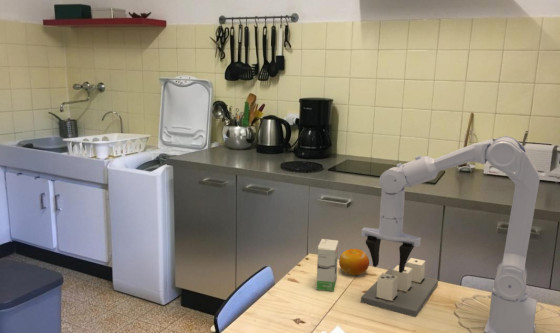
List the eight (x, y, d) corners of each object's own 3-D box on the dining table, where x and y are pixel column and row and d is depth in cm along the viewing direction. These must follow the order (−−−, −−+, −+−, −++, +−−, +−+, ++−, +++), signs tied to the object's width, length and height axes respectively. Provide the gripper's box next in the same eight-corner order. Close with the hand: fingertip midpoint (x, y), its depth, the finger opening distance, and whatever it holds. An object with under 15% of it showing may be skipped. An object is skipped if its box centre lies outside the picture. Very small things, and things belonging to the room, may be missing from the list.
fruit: (329, 260, 139) (346, 240, 137) (343, 263, 146) (359, 243, 144) (347, 281, 134) (365, 260, 132) (361, 283, 140) (378, 263, 139)
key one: (424, 277, 132) (425, 260, 131) (420, 282, 129) (421, 264, 128) (409, 274, 134) (411, 257, 133) (405, 279, 131) (406, 261, 130)
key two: (411, 286, 127) (412, 267, 126) (406, 291, 123) (407, 272, 122) (396, 282, 129) (397, 264, 128) (391, 287, 125) (392, 269, 124)
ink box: (334, 292, 126) (335, 249, 124) (315, 290, 127) (317, 248, 125) (337, 279, 134) (338, 239, 132) (319, 277, 135) (321, 238, 133)
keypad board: (437, 284, 132) (438, 279, 132) (415, 317, 113) (416, 311, 113) (388, 273, 139) (389, 268, 139) (360, 302, 120) (361, 296, 120)
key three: (396, 294, 121) (398, 276, 120) (391, 300, 118) (393, 281, 117) (381, 291, 123) (382, 272, 122) (376, 296, 120) (377, 277, 119)
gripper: (425, 217, 116) (421, 269, 119) (369, 208, 124) (366, 257, 126) (417, 224, 110) (413, 279, 113) (359, 214, 118) (356, 266, 120)
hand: (388, 268), depth 119 cm, fingers open, 6 cm apart
